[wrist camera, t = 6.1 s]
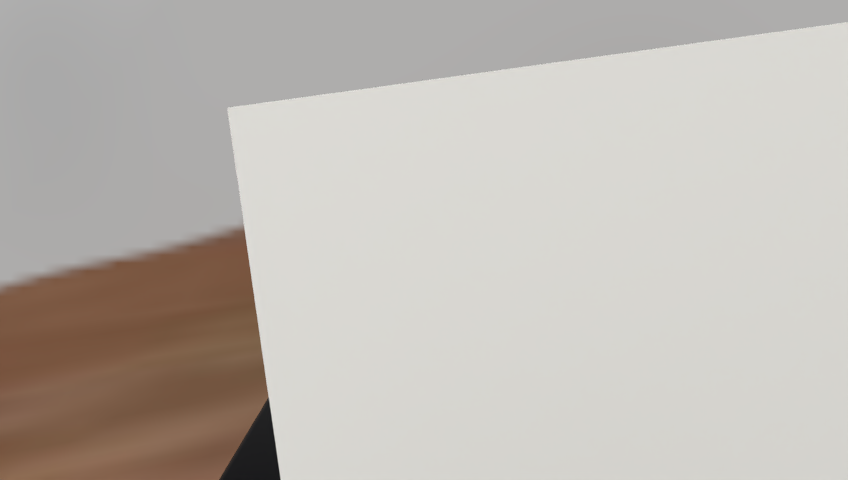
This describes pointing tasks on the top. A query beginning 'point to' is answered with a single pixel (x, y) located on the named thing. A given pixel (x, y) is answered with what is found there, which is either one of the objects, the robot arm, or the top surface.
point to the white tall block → (560, 268)
